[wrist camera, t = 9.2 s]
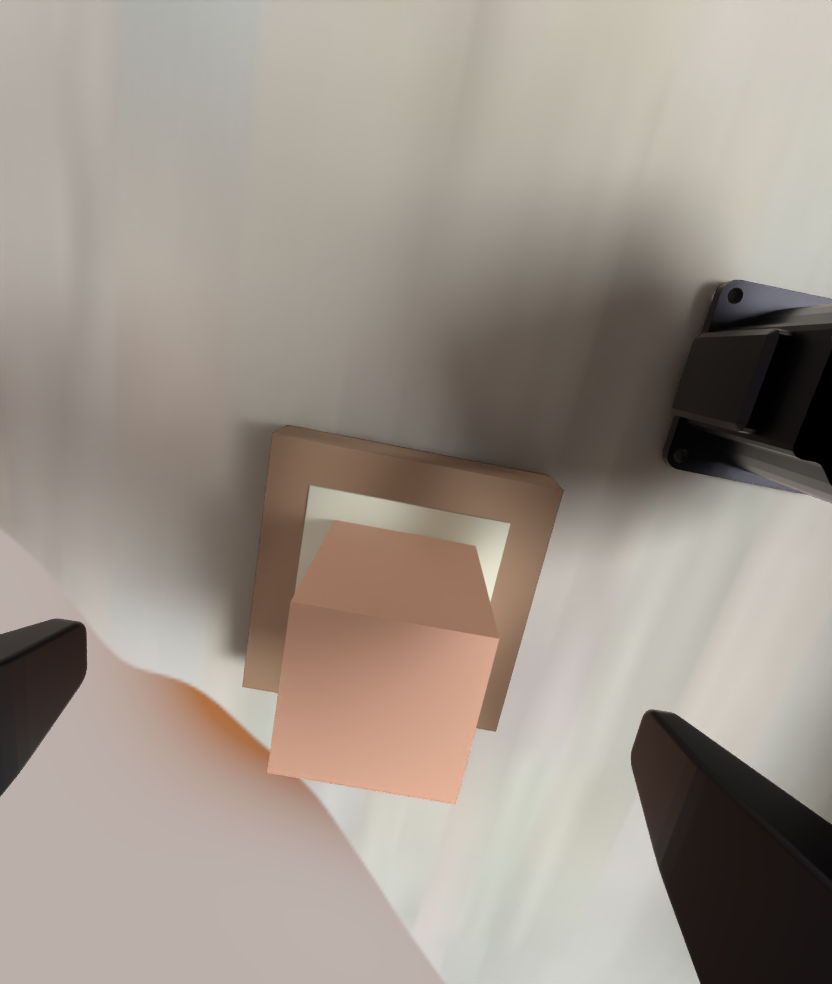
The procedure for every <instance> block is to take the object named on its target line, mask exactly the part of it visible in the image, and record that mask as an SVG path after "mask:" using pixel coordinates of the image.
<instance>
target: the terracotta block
mask: <svg viewBox="0 0 832 984" xmlns="http://www.w3.org/2000/svg"><path fill="white" fill-rule="evenodd" d="M498 642H499V635H498V631H497V627H496V623H495V619H494V616H493V612H492V608H491V604H490V600H489V596H488V592H487V588H486V584H485V580H484V576H483V572H482V568H481V564H480V560H479V556H478V552H477V548H476V546H474V545H468V544H463V543H457V542H452V541H446V540H441V539H436V538H430V537H425V536H419V535H414V534H409V533H403V532H398V531H392V530H387V529H381V528H376V527H371V526H365V525H360V524H354V523H349V522H343V521H338V520H334V522H333V524H332V526H331V528H330V529H329V531H328V533H327V535H326V537H325V539H324V540H323V542H322V544H321V546H320V548H319V550H318V552H317V553H316V555H315V557H314V559H313V561H312V563H311V565H310V566H309V568H308V570H307V572H306V574H305V576H304V578H303V579H302V581H301V583H300V585H299V587H298V589H297V590H296V592H295V594H294V596H293V598H292V600H291V602H290V609H289V616H288V624H287V631H286V639H285V646H284V653H283V661H282V668H281V676H280V683H279V690H278V698H277V705H276V712H275V720H274V727H273V735H272V742H271V749H270V757H269V764H268V772H267V773H272V774H278V775H283V776H290V777H295V778H301V779H307V780H313V781H319V782H325V783H331V784H337V785H343V786H349V787H355V788H361V789H367V790H373V791H379V792H385V793H390V794H396V795H402V796H408V797H414V798H420V799H426V800H432V801H438V802H444V803H450V804H456V802H457V799H458V795H459V791H460V787H461V783H462V780H463V776H464V772H465V768H466V764H467V761H468V757H469V753H470V749H471V745H472V742H473V738H474V734H475V730H476V726H477V722H478V719H479V715H480V711H481V707H482V703H483V700H484V696H485V692H486V688H487V684H488V681H489V677H490V673H491V669H492V665H493V661H494V658H495V654H496V650H497V646H498Z"/></svg>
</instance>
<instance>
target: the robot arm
mask: <svg viewBox="0 0 832 984" xmlns="http://www.w3.org/2000/svg"><path fill="white" fill-rule="evenodd" d="M730 290H734V291H735V293H736V299H735V301H734V302H733V303H730V302H729V301H728V293H729V292H730ZM672 409H673V411H674V413H675V416H674V419H673V422H672V425H671V428H670V431H669V434H668V437H667V440H666V443H665V446H664V449H663V455H662V457H663V460H664V462H665V463H666V464H667V465H669V466H671V467H673V468H675V469H679V470H684V471H689V472H694V473H699V474H704V475H710V476H715V477H720V478H725V479H730V480H735V481H740V482H745V483H750V484H755V485H761V486H766V487H771V488H776V489H781V490H786V491H791V492H796V493H801V494H807V495H811V496H813V497H816V498H819V499H821V500H824V501H827V502H829V503H832V299H830V298H825V297H820V296H815V295H810V294H806V293H801V292H796V291H791V290H787V289H782V288H777V287H772V286H767V285H763V284H758V283H753V282H748V281H743V280H733V281H728V282H726V283H723V284H722V285H721V286H719V287H718V288H717V290H716V292H715V294H714V297H713V300H712V303H711V306H710V309H709V312H708V315H707V318H706V321H705V324H704V327H703V330H702V333H701V335H699V336H698V337H696V338H695V339H694V341H693V344H692V347H691V351H690V354H689V357H688V360H687V363H686V366H685V369H684V372H683V375H682V378H681V381H680V384H679V387H678V391H677V394H676V397H675V400H674V403H673V406H672ZM679 449H682V450H683V456H682V457H681V458H680V459H679V460H675V459H674V454H675V453H676V451H677V450H679ZM86 637H87V636H86V628H85V626H84V625H83V624H82V623H81V622H77V621H71V620H64V619H51V620H48V621H45V622H41V623H38V624H34V625H31V626H27V627H24V628H21V629H17V630H14V631H10V632H7V633H4V634H0V796H1V795H2V794H3V793H4V792H5V790H6V789H7V788H8V786H9V785H10V784H11V783H12V781H13V780H14V779H15V778H16V777H17V775H18V774H19V773H20V771H21V770H22V769H23V767H24V766H25V765H26V763H27V762H28V760H29V759H30V758H31V756H32V755H33V753H34V752H35V750H36V749H37V748H38V746H39V745H40V743H41V742H42V740H43V739H44V737H45V736H46V735H47V733H48V732H49V730H50V729H51V727H52V726H53V724H54V723H55V722H56V720H57V719H58V717H59V716H60V714H61V713H62V711H63V710H64V709H65V707H66V706H67V704H68V703H69V701H70V700H71V698H72V697H73V695H74V694H75V692H76V691H77V689H78V688H79V687H80V685H81V684H82V682H83V680H84V677H85V675H86V670H87V638H86ZM631 766H632V770H633V774H634V778H635V782H636V785H637V789H638V793H639V797H640V801H641V804H642V808H643V812H644V816H645V820H646V824H647V827H648V831H649V835H650V839H651V843H652V846H653V850H654V854H655V857H656V860H657V864H658V867H659V870H660V873H661V876H662V879H663V882H664V885H665V888H666V891H667V893H668V896H669V899H670V902H671V904H672V907H673V910H674V913H675V915H676V918H677V921H678V924H679V926H680V929H681V932H682V935H683V937H684V940H685V943H686V946H687V948H688V951H689V954H690V956H691V959H692V962H693V965H694V967H695V970H696V973H697V976H698V978H699V981H700V984H832V825H831V824H830V823H829V822H827V821H826V820H824V819H823V818H822V817H820V816H819V815H817V814H816V813H815V812H813V811H812V810H810V809H809V808H808V807H806V806H805V805H803V804H802V803H800V802H799V801H798V800H796V799H795V798H793V797H792V796H791V795H789V794H788V793H786V792H785V791H784V790H782V789H781V788H779V787H778V786H777V785H775V784H774V783H772V782H771V781H769V780H768V779H767V778H765V777H764V776H762V775H761V774H760V773H758V772H757V771H755V770H754V769H753V768H751V767H750V766H748V765H747V764H746V763H744V762H743V761H741V760H740V759H738V758H737V757H736V756H734V755H733V754H731V753H730V752H729V751H727V750H726V749H724V748H723V747H722V746H720V745H719V744H717V743H716V742H715V741H713V740H712V739H710V738H709V737H707V736H706V735H705V734H703V733H702V732H700V731H699V730H698V729H696V728H695V727H693V726H692V725H691V724H689V723H688V722H686V721H685V720H684V719H682V718H681V717H679V716H678V715H676V714H674V713H672V712H666V711H659V710H652V709H651V710H648V711H646V712H645V714H644V715H643V717H642V720H641V723H640V726H639V729H638V732H637V735H636V739H635V742H634V745H633V748H632V752H631Z"/></svg>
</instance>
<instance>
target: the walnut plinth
mask: <svg viewBox="0 0 832 984" xmlns="http://www.w3.org/2000/svg"><path fill="white" fill-rule="evenodd" d="M562 494H563V489H562V488H561V487H560V486H559V485H558V484H557V483H556V482H555V481H554V480H553V479H552V478H551V477H550V476H547V475H542V474H537V473H532V472H527V471H522V470H517V469H511V468H506V467H501V466H496V465H491V464H486V463H480V462H475V461H470V460H465V459H460V458H455V457H449V456H444V455H439V454H434V453H429V452H424V451H418V450H413V449H408V448H403V447H398V446H393V445H387V444H382V443H377V442H372V441H367V440H362V439H357V438H351V437H346V436H341V435H336V434H331V433H326V432H320V431H315V430H310V429H305V428H300V427H295V426H289V425H287V426H285V427H283V428H282V429H280V430H278V431H276V432H274V433H272V440H271V448H270V456H269V465H268V473H267V482H266V490H265V499H264V507H263V516H262V524H261V533H260V541H259V550H258V558H257V567H256V575H255V584H254V592H253V600H252V609H251V617H250V626H249V634H248V643H247V651H246V660H245V668H244V677H243V685H242V687H246V688H252V689H257V690H263V691H269V692H274V693H278V690H279V683H280V676H281V668H282V661H283V653H284V646H285V639H286V631H287V624H288V616H289V609H290V602H291V600H292V598H293V596H294V594H295V592H296V590H297V589H298V587H299V585H300V583H301V581H302V579H303V578H304V576H305V574H306V572H307V570H308V568H309V566H310V565H311V563H312V561H313V559H314V557H315V555H316V553H317V552H318V550H319V548H320V546H321V544H322V542H323V540H324V539H325V537H326V535H327V533H328V531H329V529H330V528H331V526H332V524H333V522H334V520H338V521H343V522H349V523H354V524H360V525H365V526H371V527H376V528H381V529H387V530H392V531H398V532H403V533H409V534H414V535H419V536H425V537H430V538H436V539H441V540H446V541H452V542H457V543H463V544H468V545H474V546H476V548H477V552H478V556H479V560H480V564H481V568H482V572H483V576H484V580H485V584H486V588H487V592H488V596H489V600H490V604H491V608H492V612H493V616H494V619H495V623H496V627H497V631H498V635H499V642H498V646H497V650H496V654H495V658H494V661H493V665H492V669H491V673H490V677H489V681H488V684H487V688H486V692H485V696H484V700H483V703H482V707H481V711H480V715H479V719H478V722H477V726H476V728H478V729H484V730H490V731H495V732H496V729H497V726H498V722H499V718H500V715H501V711H502V708H503V704H504V701H505V697H506V693H507V690H508V686H509V683H510V679H511V676H512V672H513V668H514V665H515V661H516V658H517V654H518V651H519V647H520V644H521V640H522V636H523V633H524V629H525V626H526V622H527V619H528V615H529V611H530V608H531V604H532V601H533V597H534V594H535V590H536V586H537V583H538V579H539V576H540V572H541V569H542V565H543V562H544V558H545V554H546V551H547V547H548V544H549V540H550V537H551V533H552V529H553V526H554V522H555V519H556V515H557V512H558V508H559V504H560V501H561V497H562Z"/></svg>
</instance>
